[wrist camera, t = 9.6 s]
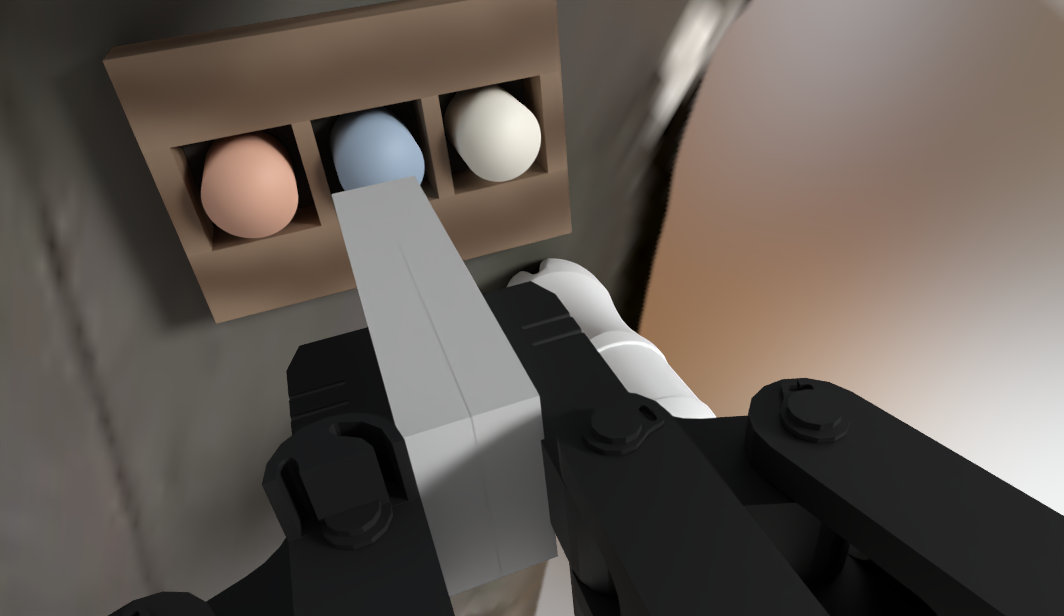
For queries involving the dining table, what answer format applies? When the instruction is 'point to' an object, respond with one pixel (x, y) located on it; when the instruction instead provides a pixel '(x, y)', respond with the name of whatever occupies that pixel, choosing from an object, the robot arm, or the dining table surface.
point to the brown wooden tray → (336, 88)
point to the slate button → (373, 149)
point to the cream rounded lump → (492, 132)
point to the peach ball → (249, 185)
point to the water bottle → (616, 338)
